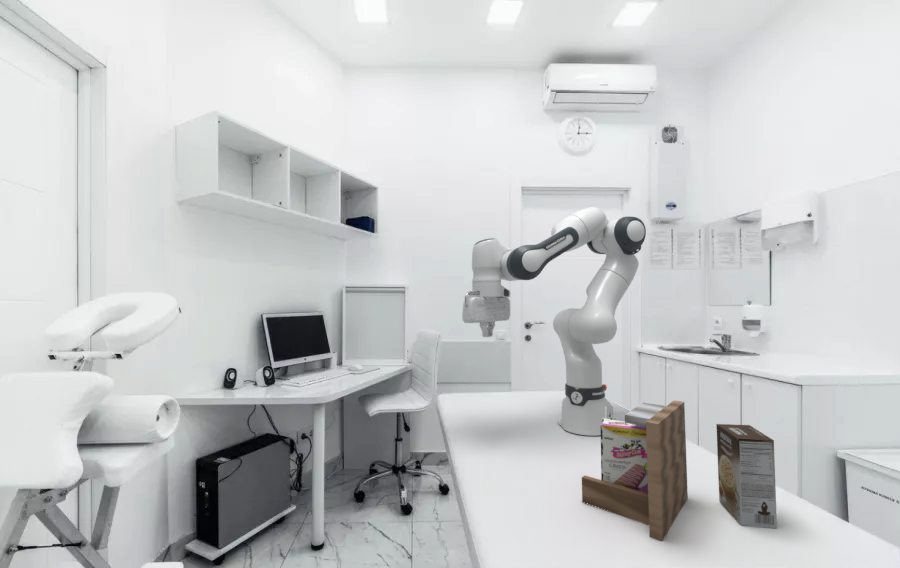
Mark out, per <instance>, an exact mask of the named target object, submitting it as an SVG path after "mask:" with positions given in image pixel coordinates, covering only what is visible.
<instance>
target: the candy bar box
mask: <svg viewBox="0 0 900 568" xmlns="http://www.w3.org/2000/svg"><path fill="white" fill-rule="evenodd" d="M600 464H601V465H600V469H601V470H600V471H601V472H600V473H601V474H600V475H601V478H600V480H603V481H606V482H610V483H613V484H617V485H620V486H623V487H627V488H630V489H634V490H637V491H641V492H644V493H647V494H648V471H647V439H646V426H641V425H635V424H630V423H625V420H621V419H619V420H613V419H604V418H602V422H601V435H600Z"/></svg>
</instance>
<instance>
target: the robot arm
mask: <svg viewBox="0 0 900 568" xmlns="http://www.w3.org/2000/svg"><path fill="white" fill-rule="evenodd" d="M550 232H551V234H550V236H549V237H547V238H546V239H544V240H542V241H540V242H538V243H536V244H524V245H521V246H518V247H517V248H511V247H508V246H506V245H504V244H503V243H502V242H500V241H499V240H498V238H492V237H491V238H485V239H483V240H479V241H477V242H475V244H474V245H473V247H472V253H471V270H472V272H473V273H472V275H473V276H472V280H471V283H472V284H471V285H472V286H471V288H472V289H471V290H472V291H471V290H470V291H467V293H466V294H465V296H464V300H463V304H462V315H461V316H462V317H461V318H462V321H463V323H465V324H479V327H480V330H481V332H482V335H481V336H482V337H483V338H491V337H493V335H494V333H493V332H494V328H495V326H496V322H501V321H509V319H510V317H511V300H510V297H511V290H509V289H508V288H506V287H504V286H503V285H502V280H504V281H507V282H508V281H509V282H515V281H530V280H534V279H535V278H537V277H538V276H539V275H540V274H541V273H542V272H543V270H544V269H545V267H546V266H547V265H548V264H549V263H550V262H551V261H553V260H555V259H556V258H557V257H559V256H561V255H562V254H564V253H568V252H571V251H574V250H577V249H579V248H581V247H583V246H585V245H587V247H588V248H589V250H590V251H591V252H593V253H594V254H596V255H597V254H598V255H605V259H604V261H603V264H602V265H601V266H600V268H599V269H598V270H597V272H596V273H595V275H594V277H593V278H592V280H590V282H589V284H588V286H587V287H586V290H585V292H586V296H587V297H586V302H585V303H584V305H583V306H582V307H581V308H573V307H571V308H567V309H564V310H561V311H559V312H558V313H556V314H555V316H554V318H553V321H552V326H553V327H552V328H553V330H554V332H555V333H556V335H557V336H558V338H559V340H560V344H561V348H562V351H563V354H564V360H565V375H566V377H565V380H566V383H565V385H564V392H565V393H564V394H565V397H563V399H562V401H561V414H560V416H561V417H560V419H558V420H557V425H560V426H561V428H562V429H563V430H565V431H567V432H568V433H571V434H575V435H581V436H590V437H591V436H601V422H602V418H604V419H613V420H620V419H619V418H615V417H614V407H613V405H612V404H611V403H610V401H608V399H607V398H606V391H607V388H608V385H607V384H605V383H603V373H602V371H603V370H602V369H603V367H602V365H603V364H602V360H601V359H600V357H599V356H598V354H597V353H596V351H595V349H594V345H599V344H605V343H608V342H611V341H612V340H613V339H614V337H615V336H616V333H617V331H618V330H617V329H618V328H617V321H616V319H615V315H616V310H617V308H618V305H619V304H620V302H621V300H622V298H623V296H624V295H625V293H626V292H627V291H628V288H629V287H630V286H631V284H632V282H633V280H634V278H635V276H636V274H637V271H638V267H639V263H640V262H639V259H638V257H636V255H635V254H638V253H639V252H640V251H641V250H642V245H643V244H644V242H645V239H646V234H647V229H646V225H645V223H644V222H643V220H642V219H641V218H639V217H637V216H622V217H621V218H614V219H611V220H609V219H608V218H607V216H606V214H605V212H604V211H603V210H602V209H601V208H599V207H597V206H590V207H585V208H582V209H580V210H577V211H574V212H573V213H570V214H568V215H567V216H565V217H563V218H562V219H560V220H559V221H557V222H556V223H554V225H553V226H552V227H551V231H550Z"/></svg>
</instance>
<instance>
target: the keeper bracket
mask: <svg viewBox="0 0 900 568" xmlns="http://www.w3.org/2000/svg"><path fill="white" fill-rule="evenodd" d="M685 415H686V412H685V401H681V400H672V401H671V402H670V403H669V404H667V405H661V404H653V403H648V402H642V403H641V404H639V405H637V406H636V407H634V408H632V409H631V410H630V411H628V412H626V413H625V414H624V421H625V423H630V424H635V425H641V426H646V439H647V471H648V494H647V493H644V492H641V491H637V490H634V489H630V488H627V487H623V486H620V485H617V484H613V483H610V482H606V481H603V480H601V479H600V478H599V479H598V478H595V477H593V476H589V475H583V476H582V477H581V501H582V503H583V502H585V503H584V504H586V503H588V504H587V505H589V504H590V505H589V506H592V505H593V506H592V507H595V506H596V507H595V508H598V507H599V508H598V509H601V508H602V510H604V509H605V510H604V511H607V510H608V511H607V512H610V511H611V512H610V513H613V514H615V513H616V515H618V514H619V515H618V516H621V515H622V517H625V518H628V519H630V520H634V521H636V522H639V523H643V524H645V525H648V527H649V529H648V531H649V532H648V533H649V535H648V536H649V538H652V539H654V540H658V541H660V542H663V541H664V539H665V537H666V536H667V534H668V532H669V530H670V529H671V527H672V526H673V524H674V522H675V520H676V518H677V517H678V515H679V514H680V513H681V510H682V509H683V507H684V506H685V504H686V502H687V500H688V498H689V495H688V494H689V493H688V470H687V466H688V465H687V443H686V438H687V437H686V416H685Z"/></svg>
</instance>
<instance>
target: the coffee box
mask: <svg viewBox="0 0 900 568" xmlns="http://www.w3.org/2000/svg"><path fill="white" fill-rule="evenodd" d="M716 447H717V475H718V500H719V503H720V504H721V505H722V506H723V508H725V510H726V511H727V512H728V513H729V514H730V515H731V517H732V518H734V520H735V521H736V522H737V523H738V524H739V526H742V527H743V526H744V527H755V528H756V527H757V528H767V529H777V528H778V519H777V518H778V517H777V495H776V493H777V492H776V491H777V490H776V465H775V464H776V463H775V440H774V439H773V438H771V437H769V436H767V435H766V434H764V433H763V432H761V431H760V430H758V429H756V427H755V428H754V427H753V426H751V424H727V423H726V424H725V423H724V424H723V423H722V424H721V423H716Z"/></svg>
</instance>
